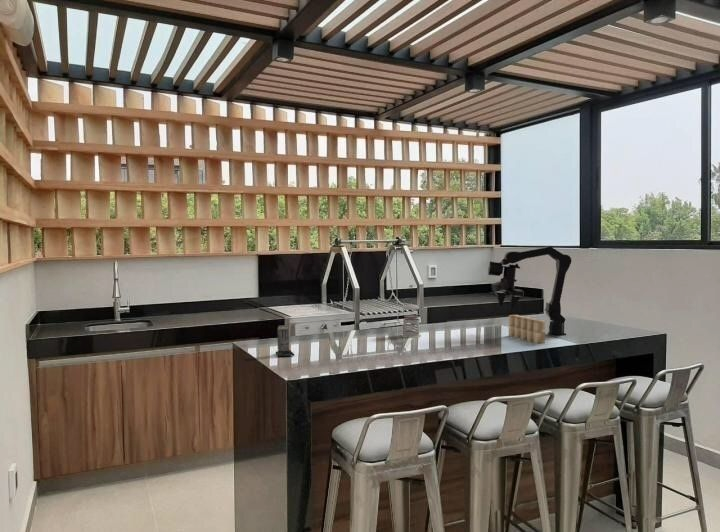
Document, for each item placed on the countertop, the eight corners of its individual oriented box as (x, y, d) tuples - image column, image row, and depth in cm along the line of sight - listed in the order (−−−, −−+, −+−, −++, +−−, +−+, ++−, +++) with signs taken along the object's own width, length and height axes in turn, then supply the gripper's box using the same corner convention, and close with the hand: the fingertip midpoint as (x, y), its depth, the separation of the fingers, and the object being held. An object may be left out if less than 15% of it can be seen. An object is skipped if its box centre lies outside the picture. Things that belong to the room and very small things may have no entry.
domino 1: (517, 335, 270) (517, 314, 270) (519, 335, 269) (519, 315, 268) (508, 335, 269) (508, 315, 268) (510, 336, 267) (511, 315, 267)
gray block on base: (272, 354, 228) (271, 324, 227) (290, 352, 231) (289, 323, 231) (279, 358, 219) (279, 328, 219) (298, 356, 223) (297, 326, 222)
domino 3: (529, 338, 261) (529, 317, 261) (531, 339, 260) (532, 317, 259) (520, 339, 260) (520, 318, 259) (522, 339, 258) (523, 318, 257)
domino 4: (535, 340, 257) (536, 318, 256) (538, 340, 255) (538, 319, 255) (526, 340, 255) (527, 319, 255) (529, 341, 253) (529, 319, 253)
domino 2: (523, 336, 266) (523, 316, 265) (525, 337, 264) (525, 316, 264) (514, 337, 264) (514, 316, 264) (516, 338, 262) (516, 317, 262)
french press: (422, 337, 264) (422, 285, 262) (397, 337, 264) (397, 285, 263) (420, 334, 274) (420, 283, 272) (396, 334, 274) (397, 283, 273)
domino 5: (542, 342, 252) (542, 320, 252) (545, 342, 251) (545, 320, 250) (533, 342, 251) (533, 320, 250) (535, 343, 249) (536, 321, 248)
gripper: (484, 274, 279) (481, 304, 280) (506, 278, 262) (503, 310, 263) (503, 275, 283) (500, 305, 284) (525, 279, 265) (522, 311, 266)
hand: (505, 308), depth 274 cm, fingers open, 9 cm apart
